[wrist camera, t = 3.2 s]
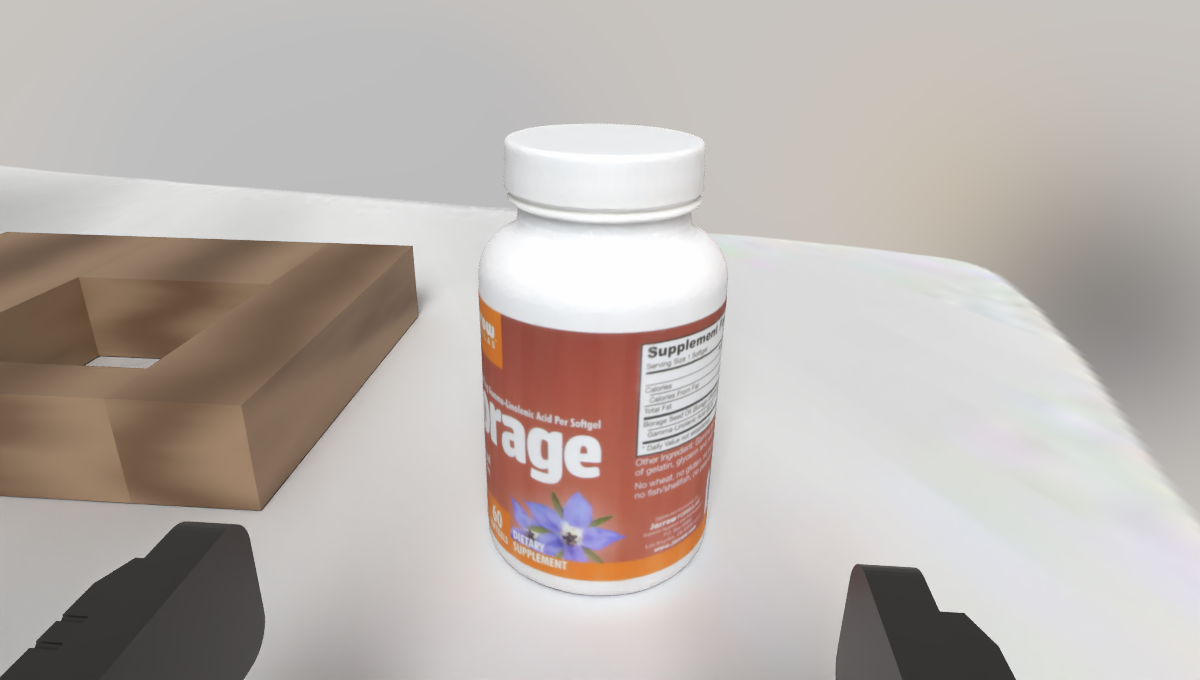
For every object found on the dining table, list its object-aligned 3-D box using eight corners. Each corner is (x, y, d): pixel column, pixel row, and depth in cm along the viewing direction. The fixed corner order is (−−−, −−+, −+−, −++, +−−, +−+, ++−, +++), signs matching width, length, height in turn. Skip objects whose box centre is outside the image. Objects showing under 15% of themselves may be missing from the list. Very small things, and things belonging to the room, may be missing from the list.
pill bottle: (446, 524, 23) (416, 131, 18) (603, 451, 26) (609, 113, 22) (588, 645, 18) (593, 172, 14) (750, 537, 22) (793, 140, 18)
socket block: (-360, 474, 24) (-416, 373, 23) (26, 300, 39) (6, 232, 38) (260, 510, 23) (241, 405, 22) (418, 315, 38) (412, 245, 36)
